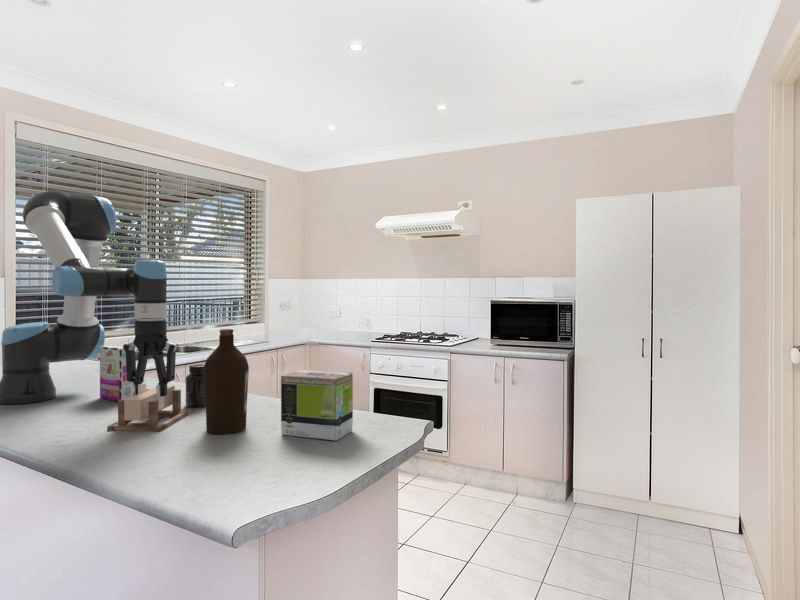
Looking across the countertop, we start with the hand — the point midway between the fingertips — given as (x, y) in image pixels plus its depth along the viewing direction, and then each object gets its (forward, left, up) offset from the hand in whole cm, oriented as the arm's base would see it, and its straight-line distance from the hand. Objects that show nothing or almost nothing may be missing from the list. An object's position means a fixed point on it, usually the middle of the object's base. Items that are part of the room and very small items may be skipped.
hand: (151, 408), depth 133 cm
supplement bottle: (-18, +5, -4) cm, 19 cm away
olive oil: (+6, +22, -4) cm, 23 cm away
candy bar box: (-25, -23, -4) cm, 34 cm away
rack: (0, 0, -3) cm, 3 cm away
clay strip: (0, 0, -1) cm, 1 cm away
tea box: (+8, +45, -4) cm, 46 cm away
